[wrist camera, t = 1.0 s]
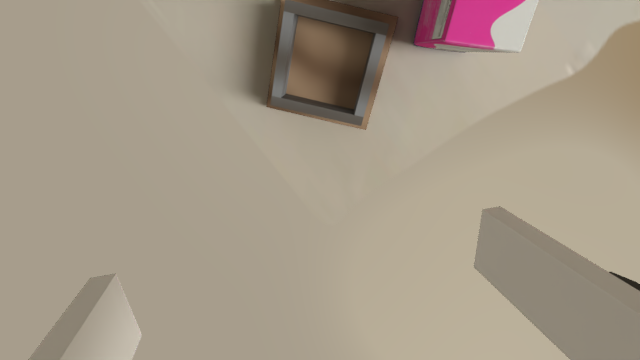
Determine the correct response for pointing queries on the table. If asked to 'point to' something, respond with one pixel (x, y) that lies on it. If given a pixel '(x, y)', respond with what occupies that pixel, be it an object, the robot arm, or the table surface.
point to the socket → (329, 60)
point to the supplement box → (474, 25)
